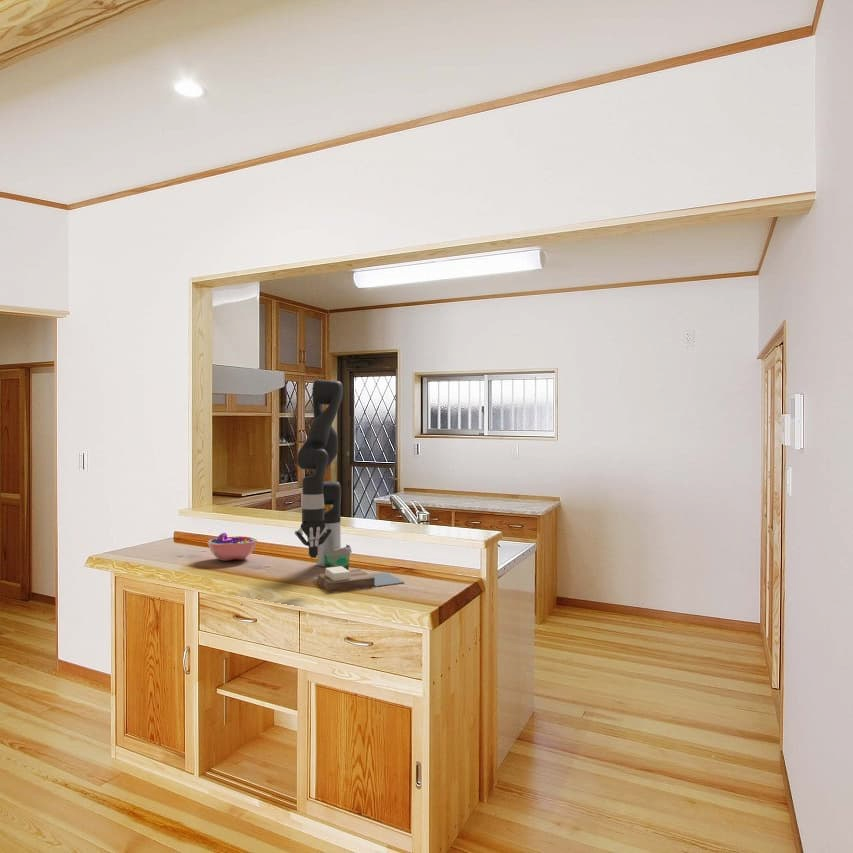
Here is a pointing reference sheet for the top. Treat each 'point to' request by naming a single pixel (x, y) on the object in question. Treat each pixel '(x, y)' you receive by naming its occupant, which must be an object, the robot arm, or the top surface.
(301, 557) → the top surface
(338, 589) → the brown wooden board
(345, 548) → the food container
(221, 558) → the cell model
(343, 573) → the tile
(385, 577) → the mat
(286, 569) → the top surface
